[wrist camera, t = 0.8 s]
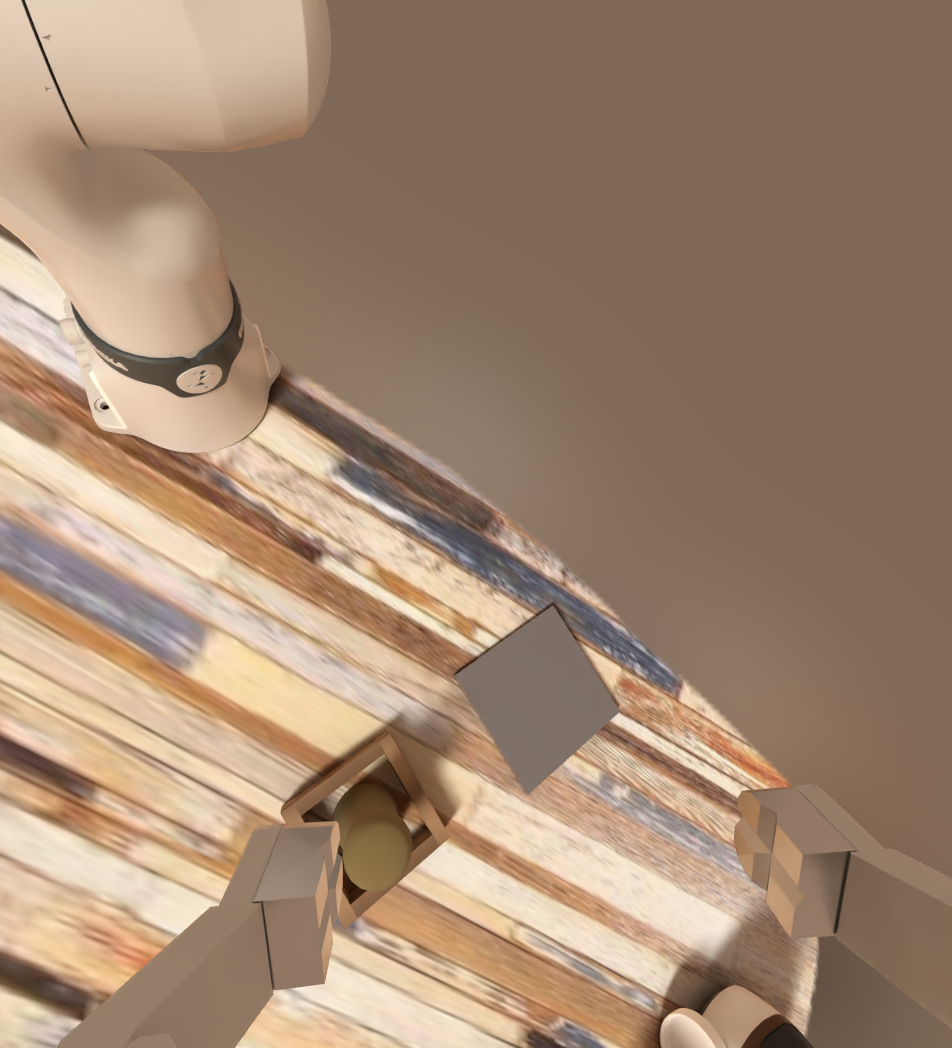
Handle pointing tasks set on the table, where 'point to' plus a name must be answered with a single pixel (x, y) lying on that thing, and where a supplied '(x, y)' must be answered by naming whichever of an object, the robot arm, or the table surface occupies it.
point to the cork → (372, 837)
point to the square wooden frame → (435, 830)
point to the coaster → (537, 697)
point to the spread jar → (731, 1024)
